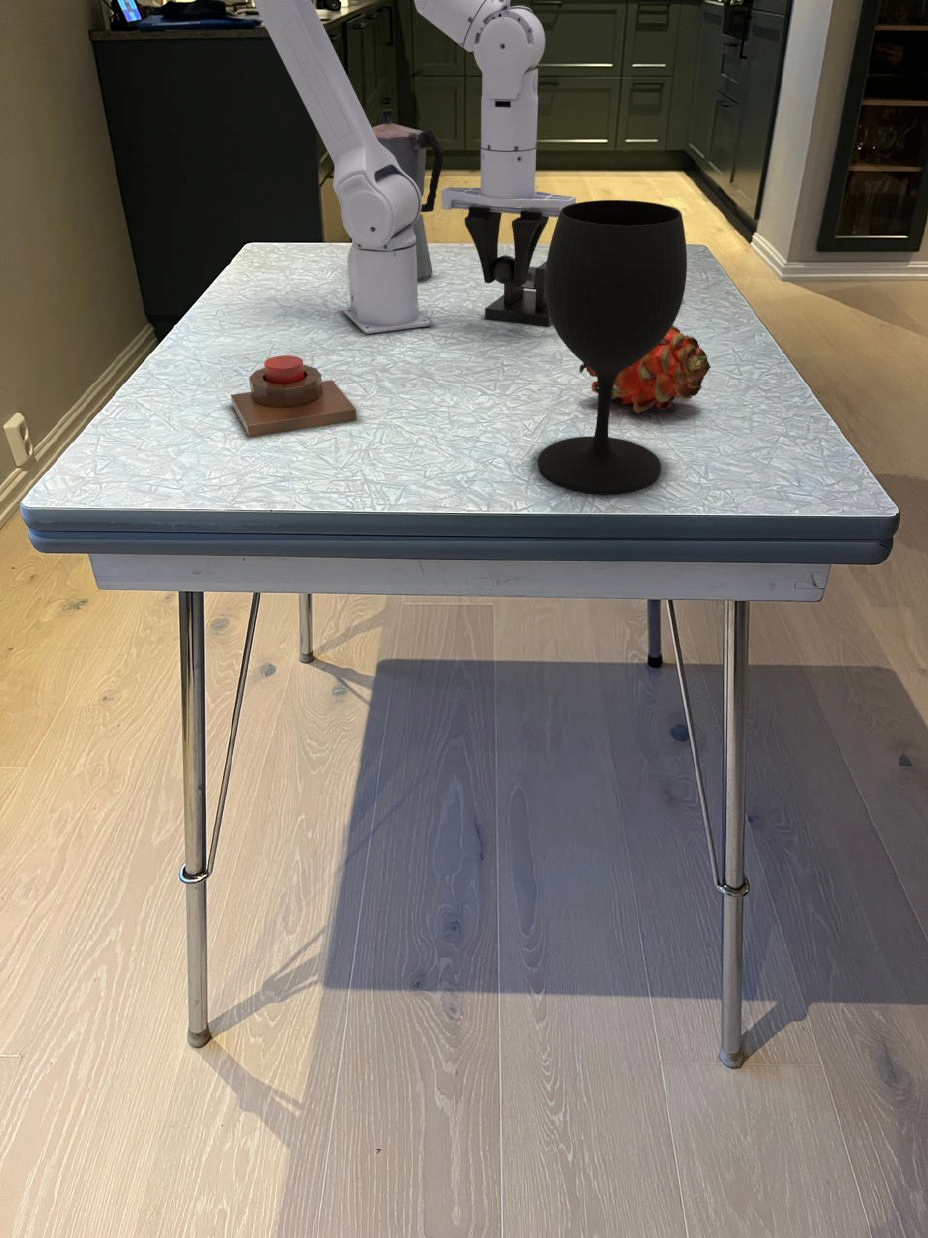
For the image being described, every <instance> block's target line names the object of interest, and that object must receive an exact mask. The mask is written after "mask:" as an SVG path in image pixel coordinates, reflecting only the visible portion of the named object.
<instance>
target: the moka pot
mask: <svg viewBox="0 0 928 1238" xmlns="http://www.w3.org/2000/svg"><path fill="white" fill-rule="evenodd" d="M380 113H381V117H382V122H383V123H382V124H379V125H376V126H373V127H372V129H373V132H374V134H375V136H376V138H377V140H378V141H379V142H380V143H381V144H382V145H383V146H384V147H385V148H386V149H387V150H388V151H390V152H391V153H392V154H393V155H394V156H395V158H396V160H397V163H398V164H399V166H400V168H401V169H402V171H403V172H404V173H405V174H407V175H408V176H409V177H410V178H411V179H412V180H413V181H414V182H415V183H416V185H417V186H418V188H419V191H420V194H421V198H422V197H423V196H424V194H425V177H426V161H427V148H428V147H430V148H431V149H432V150H433V151H434V159H433V162H432V171H431V177H430V179H429V187H428V188H429V192H428V195H427V198H426V203H422V208H421V212H420V215H419V217H418V219H417V221H416V222H415V223H414V224H413V231H414V234H415V236H416V258H417V280H421V279H426V278H427V277H429V276H430V275H431V274H432V272H433V267H432V266H433V265H432V261H431V256H430V251H429V244H428V239H427V234H426V228H425V227H426V226H425V222H424V217H423V215H422V214H421V213H430V212H434V209H435V203H436V201H435V200H436V198H437V190H438V187H439V186H438V185H439V182H440V181H439V180H440V177H441V173H442V169H443V168H442V166H443V164H444V163H443V162H444V161H443V158H444V150H443V149H442V146H441V144H440V142H439V141H438V140H437V139H436V138H435V134H433V129H427V130H424V131H423V130H420V129H415V128H411V127H409V126H404V125H400V124H397V123H394V122H393V120H394V110H393V109H391V108H384V109H382V110H381V111H380Z"/></svg>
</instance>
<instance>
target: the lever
mask: <svg viewBox="0 0 928 1238" xmlns="http://www.w3.org/2000/svg"><path fill="white" fill-rule="evenodd" d="M514 258H515V257H513V256H511V255H507V254H506V255H505V254H504V255H500V256H498V258H497V259H496V260H495V261H494V263H493V266H492V274H493V277H494V279H495V280H494V281H496V282H497V283H499V284H501V285H504V284H510V283H512V282H513V281H514V264H515V259H514ZM538 267H539V266H532V265H530V266H529V270H528V275H527V280H526V283H525V284H523V285H522V286H521V288H524V290H532V291H536V277H537V268H538ZM517 287H518V286H517Z"/></svg>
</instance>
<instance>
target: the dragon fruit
mask: <svg viewBox="0 0 928 1238" xmlns="http://www.w3.org/2000/svg"><path fill="white" fill-rule="evenodd" d="M711 368H712V366H711V365H710V362H709V361H708V355H707V353H706V352H705V351H704V350H703V348H701V347H700V345H699V342H698V340H697V338H695V337H694V336H689V335H688V334H686V335H685V334H684V333H683V332H681V330H680V329H679V328H678V327H676V326H675V325H674V324H673V325H672V327H671V329H670V330H669V332H668V333H667V334H666V336H665V337H664V338H663V339H662V341H661V342H660V343H659V344H658V345H657V346H656V347H655V348H654V349H653V350H652V351H651V352H649V353H648V354H647V355H646V356H645V357H643V358H642V359H640V360H639V361H637V362H636V363H634V364H633V365H631V366H630V367H628V368H626V369H624V370H623V371H621V372H620V373H619V374H618V375H617V377H616V379H615V382H614V386H613V391H612V396H611V399H612V400H613V399H614V400H616V401H617V402H619V403H620V404H621V405H622V404H623V405H628V404H632V406H633V407H632V409H633V411H634V413H636V414H640V413H642V412H644V411H648V410H650V409H651V408H652V407H653V406H655V408H657V410H660V411H661V410H668V409H669V408H671V407H672V406H673V404H674V400H675V399H680V400H685V401H686V400H690V399H692V398H693V397H694V396H696V395H697V394H698V393H699V392H700V391H701V389H702V383H703V381H704V379H705V376H707V374H708V372H709V371H710V369H711ZM585 369H586V370H585ZM584 370H585V371H587V373H588V374H589V376H591V377H593V378H597V376H596V373H595V372H594V371H593V370H592V369H591V368H590V367H588V366H587V365H586V364H585V363H583V362H582V364H580V366H579V374H582V373H583V372H584ZM591 390H592V393H593V392H594V394H596V395H598V380H596V381H594V382H592V383H591Z"/></svg>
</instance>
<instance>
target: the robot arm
mask: <svg viewBox="0 0 928 1238" xmlns="http://www.w3.org/2000/svg"><path fill="white" fill-rule="evenodd" d="M511 1H512V0H413V2H414V6H415V9H416V12H417V13H418V14H420V15H421V16H422V17H423V18H425V19H426V20H427V21H429V22H430V24H433V26H435V27H436V28H438V30H440V31H441V32H443V33H444V34H445V35H446V36H448V37H449V38H450V39H452V40H453V41H454V42H455V43H456V44H457V45H459V46H460V47H461V48H463V49H464V50H465V51H467V53H471V52H473V56H474V59H475V62H476V65H477V66H478V68H479V70H480V72H481V73H482V79H481V80H482V81H481V82H482V83H481V98H480V99H481V100H480V104H481V105H480V106H481V107H480V108H481V109H480V110H481V111H480V187H457V186H456V187H455V186H447V187H445V188H443V189H441V210H446V211H447V210H453V209H455V210H466V211H468V213H467V216H465V217H464V225H465V228H466V229H467V232H468V233H469V236H470V238H471V239H472V241H473V244H474V246H475V248H476V249H475V250H476V253H477V255H478V258H479V262H480V266H481V269H482V274H483V281H484V283H485V284H492V283H493V282H495V281H496V280H495V279H494V277H493V274H492V266H493V263H494V261H495V260H496V259H497V258H498V257H499V256H498V255H499V253H498V252H499V249H498V247H499V234H500V227H501V220H502V216H503V215H502V214H512V215H519V216H518V217H516V218H515V219H513V220H512V221H511V229H512V236H513V245H514V258H515V264H514V286H518V287H521V286H522V285H523V284H525V283H526V280H527V275H528V270H529V266H531V262H532V259H533V255H534V253H535V250H536V247H537V245H538V243H539V240H540V239H541V237H542V234H543V232H544V230H545V228H546V226H547V224H548V222H549V219H550V218H557V219H558V217H559V214H560V211H561V209H562V208H564V207H566V206H568V205H571V204H575V203H577V202H576V201H577V197H576V196H570V195H562V194H557V193H556V194H555V193H549V192H543V191H537V190H536V169H537V168H536V166H537V163H536V162H537V140H538V139H537V138H538V137H537V136H538V115H539V113H538V110H539V96H538V85H539V68H536V66H538V64H539V63H540V61H541V60H542V58H543V56H544V53H545V48H546V33H545V30H544V27H543V24H542V23H541V21H540V20H539V18H538V17H537V15H535V14H534V12H533V11H532V9H531V8H530V7H527V6H524V5H514V6H511ZM252 2H253V5H254V7H255V9H256V10H257V12H258V14H259V16H260V18H261V20H262V22H263V24H264V26H265V28H266V31H267V32H268V34H269V36H270V39H271V40H272V43H273V45H274V47H275V48H276V50H277V52H278V54H279V57H280V58H281V60H282V62H283V64H284V67H285V68H286V71H287V72H288V75H289V76H290V79H291V81H292V82H293V84H294V86H295V88H296V90H297V93H298V94H299V96H300V98H301V100H302V102H303V104H304V106H305V108H306V111H307V112H308V114H309V116H310V118H311V120H312V122H313V124H314V127H315V129H316V130H317V132H318V134H319V136H320V138H321V140H322V143H323V144H324V146H325V148H326V150H327V152H328V154H329V156H330V158H331V160H332V163H333V164H334V171H333V184H332V186H333V187H332V188H333V190H334V193H335V195H336V196H337V198H338V202H339V205H340V217H341V222H342V225H343V228H344V230H345V232H346V233H347V235H348V236H349V237H350V238H351V243H352V244H351V246H350V248H349V251H348V253H347V271H348V286H349V300H350V302H349V303H350V306H346V307H343V308H342V311H343V313H344V314H345V315H346V316H347V317H348V318H349V319H350V320H351V321H352V322H353V323H354V324H355V325H356V326H357V327H358V328H359V329H360V330H361V331H362V332H363V333H364V334H368V335H369V334H377V333H378V334H379V333H385V332H394V331H400V330H407V329H408V330H409V329H417V328H423V327H430V326H431V321H430V320H429V319H428V318H426V316H424V315H423V314H422V313H421V312H420V311H419V291H418V279H417V258H416V236H415V234H414V231H413V224H414V223H415V222H416V221H417V219H418V217H419V215H420V214H421V213H422V212H421V208H422V204H423V200H422V199H423V198H422V197H421V194H420V191H419V188H418V186H417V185H416V183H415V182H414V181H413V180H412V179H411V178H410V177H409V176H408V175H407V174H405V173H404V172H403V171H402V169H401V168H400V166H399V164H398V163H397V160H396V158H395V156H394V155H393V154H392V153H391V152H390V151H388V150H387V149H386V148H385V147H384V146H383V145H382V144H381V143H380V142H379V141H378V140H377V138H376V136H375V134H374V132H373V129H372V128H373V127H372V126H371V123H370V121H369V119H368V117H367V114H366V113H365V111H364V108H363V106H362V105H361V102H360V101H359V98H358V96H357V94H356V91H355V89H354V88H353V86H352V83H351V82H350V79H349V77H348V75H347V73H346V71H345V69H344V67H343V65H342V63H341V61H340V58H339V56H338V54H337V52H336V49H335V48H334V45H333V44H332V41H331V39H330V37H329V35H328V33H327V30H326V29H325V26H324V25H323V23H322V21H321V18H320V16H319V14H318V12H317V9H316V8H315V6H314V3H313V1H312V0H252Z"/></svg>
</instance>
